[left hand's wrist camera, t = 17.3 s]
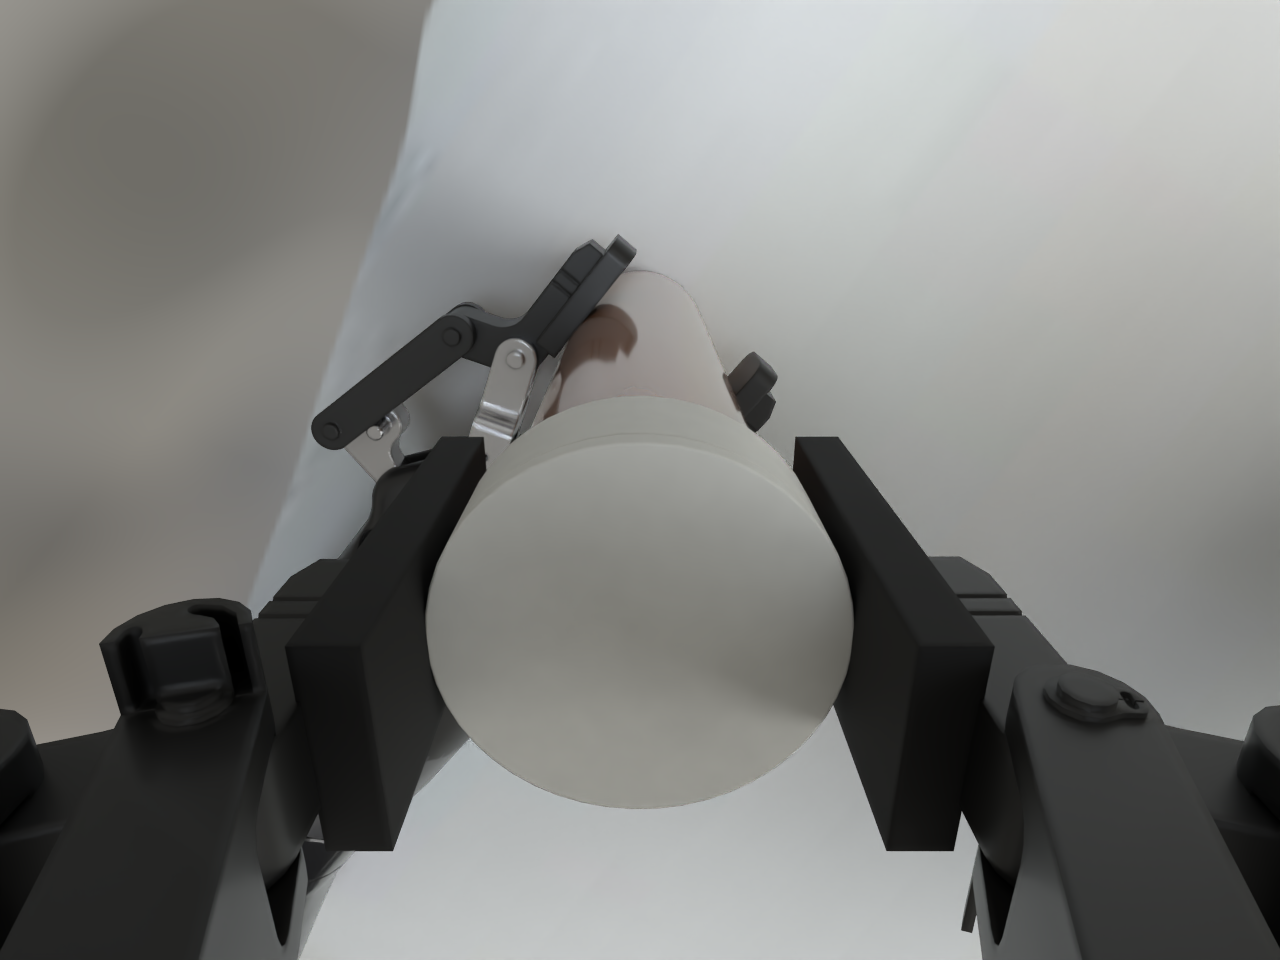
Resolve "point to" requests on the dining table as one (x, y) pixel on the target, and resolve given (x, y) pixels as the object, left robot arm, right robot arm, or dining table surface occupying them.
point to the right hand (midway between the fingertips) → (695, 307)
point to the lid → (639, 607)
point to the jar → (641, 351)
